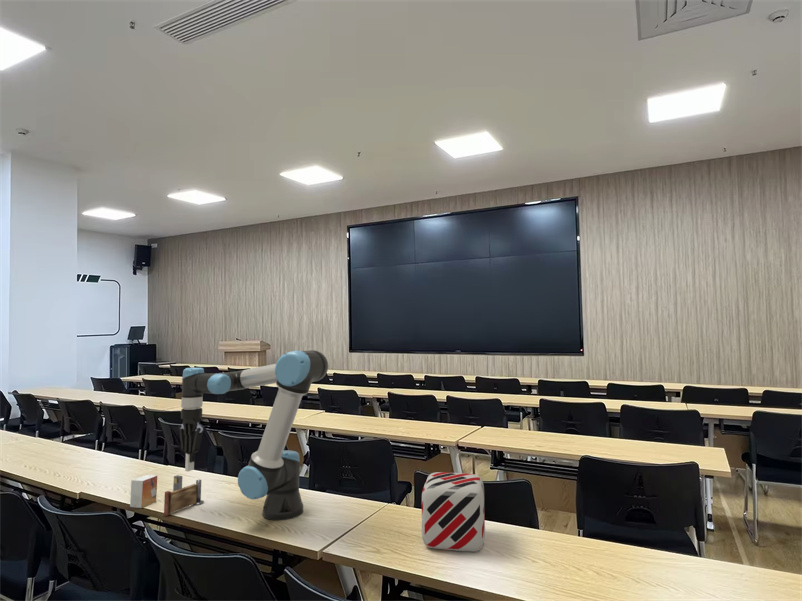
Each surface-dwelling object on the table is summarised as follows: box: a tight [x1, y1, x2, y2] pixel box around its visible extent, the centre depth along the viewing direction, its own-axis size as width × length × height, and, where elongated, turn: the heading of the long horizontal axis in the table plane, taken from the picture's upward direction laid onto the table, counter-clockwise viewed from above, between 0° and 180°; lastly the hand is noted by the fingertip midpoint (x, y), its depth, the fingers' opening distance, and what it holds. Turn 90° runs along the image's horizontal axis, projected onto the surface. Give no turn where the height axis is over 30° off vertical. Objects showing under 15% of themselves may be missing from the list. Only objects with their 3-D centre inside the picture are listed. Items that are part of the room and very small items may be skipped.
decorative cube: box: [421, 471, 486, 552], centre depth 152 cm, size 20×20×20 cm
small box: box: [129, 474, 158, 509], centre depth 185 cm, size 8×6×10 cm
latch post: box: [172, 474, 183, 491], centre depth 194 cm, size 5×3×8 cm, turn 65°
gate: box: [163, 483, 197, 516], centre depth 178 cm, size 13×2×8 cm, turn 155°
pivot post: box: [192, 479, 205, 506], centre depth 186 cm, size 4×4×9 cm
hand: (189, 470), depth 176 cm, fingers closed
